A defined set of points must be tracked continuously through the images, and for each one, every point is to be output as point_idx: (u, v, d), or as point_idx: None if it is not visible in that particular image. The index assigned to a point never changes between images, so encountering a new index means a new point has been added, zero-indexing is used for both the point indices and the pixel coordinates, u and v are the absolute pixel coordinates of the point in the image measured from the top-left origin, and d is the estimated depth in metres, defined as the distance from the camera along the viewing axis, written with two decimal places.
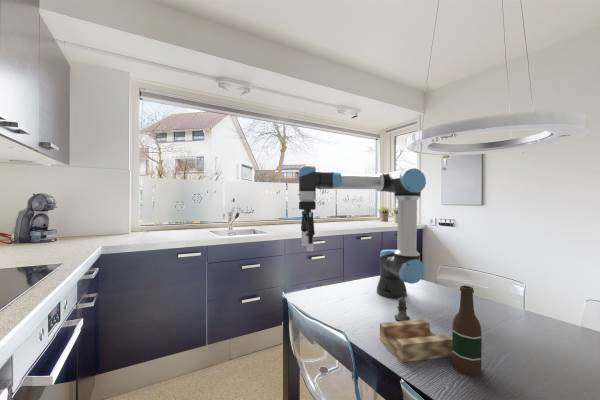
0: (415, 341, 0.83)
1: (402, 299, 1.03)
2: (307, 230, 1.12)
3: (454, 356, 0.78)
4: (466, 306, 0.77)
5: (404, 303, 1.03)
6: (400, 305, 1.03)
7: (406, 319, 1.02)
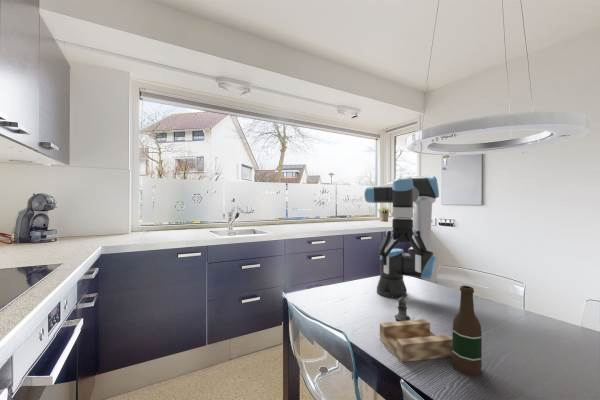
0: (415, 341, 0.83)
1: (402, 299, 1.03)
2: None
3: (454, 356, 0.78)
4: (466, 306, 0.77)
5: (404, 303, 1.03)
6: (400, 305, 1.03)
7: (406, 319, 1.02)
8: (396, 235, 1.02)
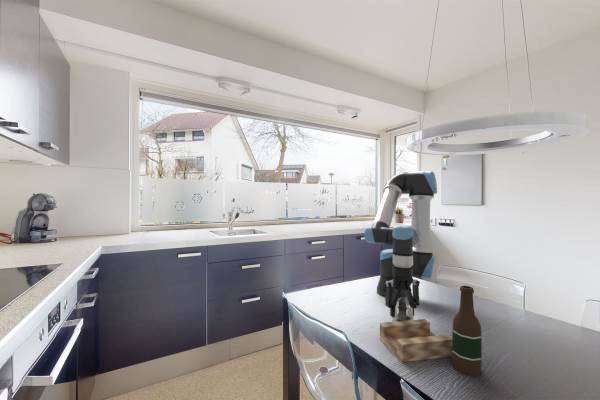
0: (415, 341, 0.83)
1: (402, 299, 1.03)
2: None
3: (454, 356, 0.78)
4: (466, 306, 0.77)
5: (404, 303, 1.03)
6: (400, 305, 1.03)
7: (406, 319, 1.02)
8: (397, 283, 1.03)
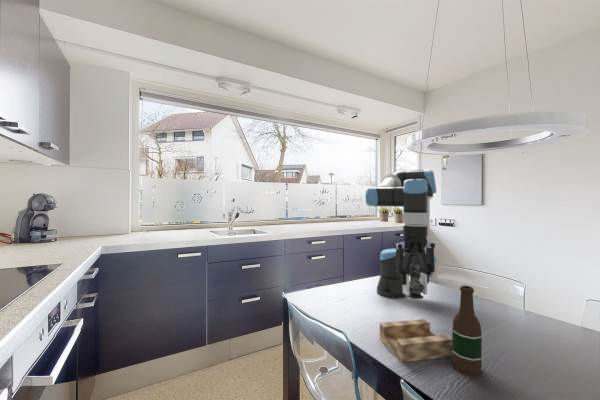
0: (415, 341, 0.83)
1: (415, 264, 0.89)
2: None
3: (454, 356, 0.78)
4: (466, 306, 0.77)
5: (417, 268, 0.88)
6: (412, 271, 0.89)
7: (420, 287, 0.87)
8: (409, 245, 0.88)
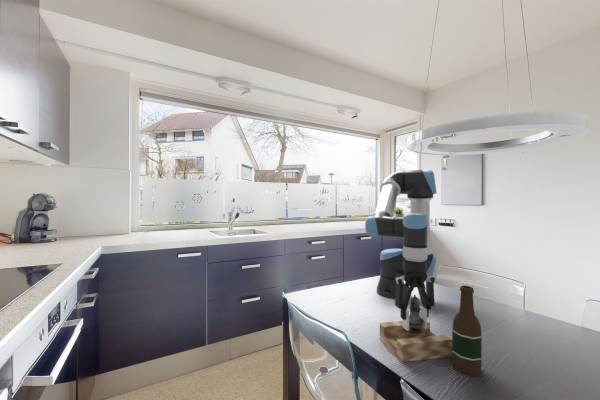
0: (415, 341, 0.83)
1: (415, 298, 0.89)
2: None
3: (454, 356, 0.78)
4: (466, 306, 0.77)
5: (417, 303, 0.88)
6: (412, 305, 0.89)
7: (419, 322, 0.87)
8: (408, 279, 0.88)
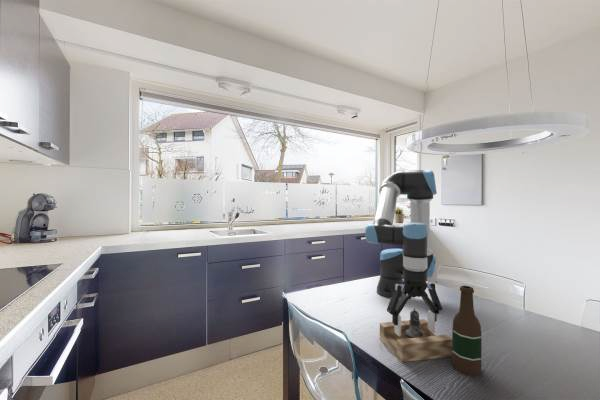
0: (415, 341, 0.83)
1: (414, 312, 0.89)
2: None
3: (454, 356, 0.78)
4: (466, 306, 0.77)
5: (417, 317, 0.88)
6: (412, 319, 0.89)
7: (419, 336, 0.87)
8: (408, 289, 0.88)
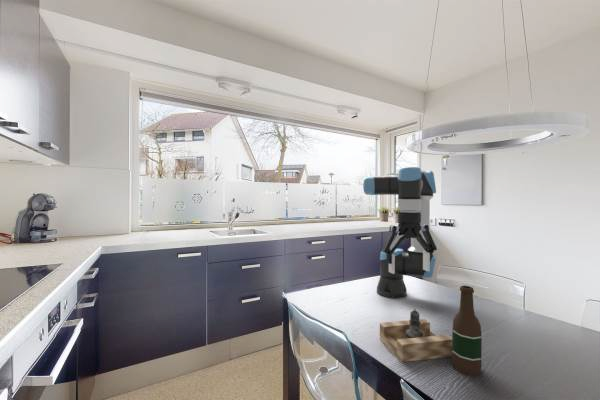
0: (415, 341, 0.83)
1: (415, 312, 0.89)
2: None
3: (454, 356, 0.78)
4: (466, 306, 0.77)
5: (417, 317, 0.88)
6: (412, 319, 0.89)
7: (419, 336, 0.87)
8: (402, 230, 0.92)
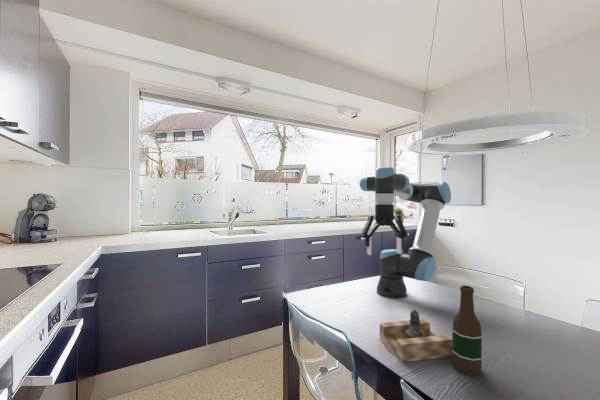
0: (415, 341, 0.83)
1: (414, 312, 0.89)
2: None
3: (454, 356, 0.78)
4: (466, 306, 0.77)
5: (417, 317, 0.88)
6: (412, 319, 0.89)
7: (419, 336, 0.87)
8: (378, 219, 1.11)
